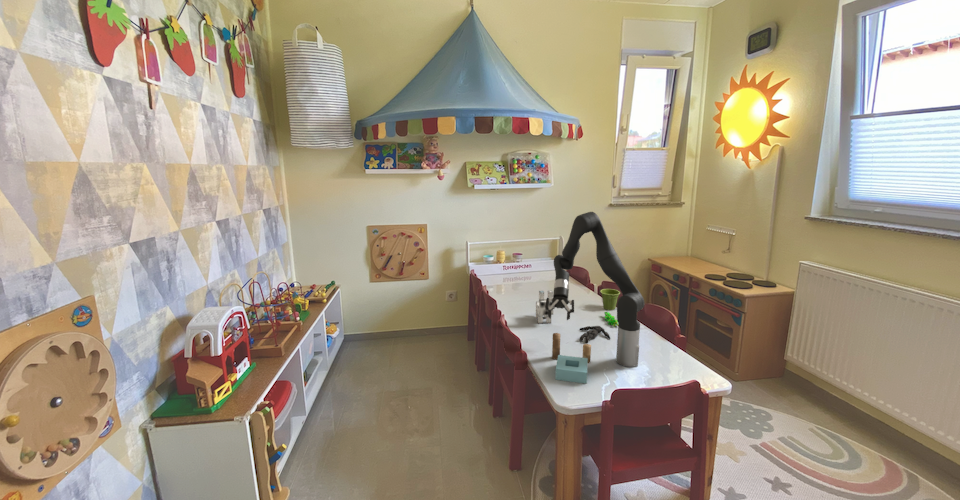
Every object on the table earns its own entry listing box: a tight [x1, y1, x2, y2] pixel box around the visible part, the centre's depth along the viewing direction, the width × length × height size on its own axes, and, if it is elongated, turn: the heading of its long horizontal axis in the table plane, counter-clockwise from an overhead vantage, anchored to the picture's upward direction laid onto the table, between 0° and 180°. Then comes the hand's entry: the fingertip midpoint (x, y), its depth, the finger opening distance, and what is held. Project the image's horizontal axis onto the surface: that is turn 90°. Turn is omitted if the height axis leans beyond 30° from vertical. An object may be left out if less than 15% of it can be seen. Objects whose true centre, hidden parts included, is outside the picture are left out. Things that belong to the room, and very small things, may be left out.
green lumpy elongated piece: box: [603, 311, 618, 327], centre depth 227 cm, size 7×18×4 cm, turn 2°
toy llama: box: [535, 290, 554, 325], centre depth 228 cm, size 8×18×20 cm, turn 1°
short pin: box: [581, 343, 592, 364], centre depth 181 cm, size 4×4×8 cm
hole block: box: [555, 354, 589, 384], centre depth 171 cm, size 13×13×5 cm
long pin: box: [551, 332, 561, 361], centre depth 185 cm, size 4×4×12 cm
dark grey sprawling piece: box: [579, 325, 611, 344], centre depth 209 cm, size 18×4×20 cm
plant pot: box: [599, 288, 621, 311], centre depth 248 cm, size 12×12×11 cm
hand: (558, 318), depth 193 cm, fingers open, 8 cm apart
